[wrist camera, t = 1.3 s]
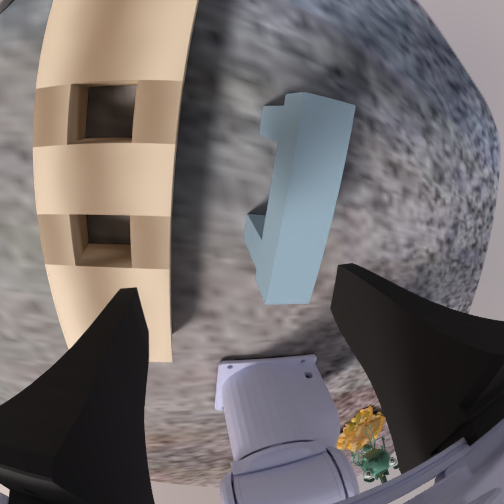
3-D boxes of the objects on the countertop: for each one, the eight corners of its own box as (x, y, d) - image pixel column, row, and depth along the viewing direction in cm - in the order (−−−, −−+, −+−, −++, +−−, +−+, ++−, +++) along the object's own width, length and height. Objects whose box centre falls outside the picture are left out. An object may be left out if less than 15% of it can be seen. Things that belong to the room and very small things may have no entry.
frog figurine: (328, 455, 45) (353, 514, 31) (330, 408, 38) (369, 486, 24) (372, 438, 46) (402, 492, 32) (386, 386, 39) (432, 454, 25)
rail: (205, -26, 11) (209, -47, 8) (172, 334, 22) (172, 362, 20) (81, -19, 9) (66, -36, 6) (79, 329, 20) (71, 355, 18)
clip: (302, 103, 16) (355, 105, 11) (276, 248, 21) (309, 303, 15) (264, 96, 16) (304, 91, 10) (242, 247, 20) (265, 304, 15)
